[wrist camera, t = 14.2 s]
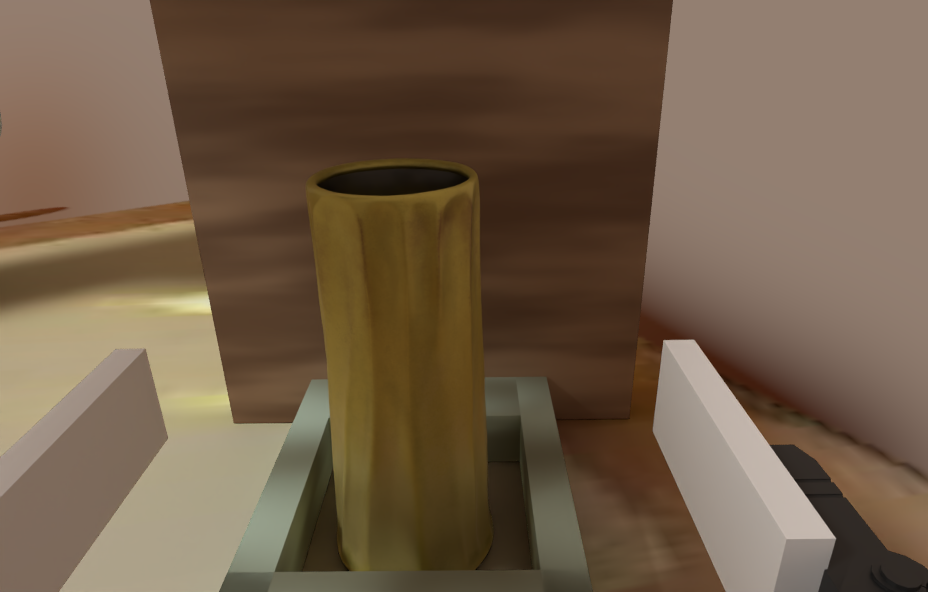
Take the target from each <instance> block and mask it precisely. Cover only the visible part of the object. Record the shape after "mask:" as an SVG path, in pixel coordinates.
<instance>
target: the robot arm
mask: <svg viewBox="0 0 928 592" xmlns="http://www.w3.org/2000/svg"><path fill="white" fill-rule="evenodd" d="M1 129H2V123H1V114H0V135H1ZM653 433H654V435H655V437H656V440H657V442H658V444H659V446H660V448H661V451H662V453H663V455H664V457H665V459H666V462H667V464H668V466H669V468H670V470H671V473H672V475H673V477H674V479H675V481H676V484H677V486H678V488H679V490H680V492H681V495H682V497H683V499H684V501H685V503H686V506H687V508H688V510H689V512H690V514H691V517H692V519H693V521H694V523H695V525H696V528H697V530H698V532H699V534H700V536H701V539H702V541H703V543H704V545H705V547H706V550H707V552H708V554H709V556H710V558H711V561H712V563H713V565H714V567H715V569H716V572H717V574H718V576H719V578H720V580H721V583H722V585H723V587H724V589H725V591H726V592H928V569H927V568H926V567H924V566H923V565H921V564H919V563H917V562H916V561H914V560H912V559H910V558H908V557H906V556H904V555H900V554H897V553H894V552H891V551H888V550H887V549H886V548H885V546H884V545H883V544H882V543H881V541H880V540H879V539H878V538H877V536H876V535H875V534H874V533H873V531H872V530H871V529H870V528H869V526H868V525H867V524H866V523H865V521H864V520H863V519H862V517H861V516H860V515H859V514H858V512H857V511H856V510H855V509H854V507H853V506H852V505H851V504H850V502H849V501H848V500H847V499H846V498H843V494H842V492H841V491H840V490H839V489H838V487H837V486H836V485H835V484H834V482H831V479H830V477H829V476H828V475H827V473H826V472H825V471H824V470H823V468H822V467H821V466H820V465H819V463H818V462H817V461H816V460H815V459H813V458H812V457H810V456H809V455H808V454H806V453H805V452H803V451H802V450H800V449H799V448H798V447H796V446H795V445H769V444H768V443H767V441H766V440H765V438H764V437H763V436H762V434H761V433H760V431H759V430H758V429H757V427H756V426H755V424H754V423H753V422H752V420H751V419H750V417H749V416H748V415H747V413H746V412H745V410H744V409H743V408H742V406H741V405H740V403H739V402H738V401H737V399H736V398H735V396H734V395H733V394H732V392H731V391H730V389H729V388H728V387H727V385H726V384H725V382H724V381H723V380H722V378H721V377H720V375H719V374H718V373H717V371H716V370H715V368H714V367H713V366H712V364H711V363H710V361H709V360H708V359H707V357H706V356H705V354H704V353H703V352H702V350H701V349H700V347H699V346H698V345H697V343H696V342H695V340H664V342H663V349H662V357H661V365H660V374H659V382H658V390H657V398H656V407H655V415H654V423H653ZM167 439H168V436H167V432H166V428H165V424H164V420H163V416H162V412H161V408H160V404H159V400H158V396H157V392H156V388H155V384H154V381H153V377H152V373H151V369H150V365H149V361H148V357H147V353H146V349H115V350H114V351H113V352H112V353H111V354H110V355H109V356H108V357H107V358H105V359H104V360H103V361H102V362H101V363H100V364H99V365H98V366H97V367H96V368H95V369H94V370H93V371H92V372H91V373H90V374H88V375H87V376H86V377H85V378H84V379H83V380H82V381H81V382H80V383H79V384H78V385H77V386H76V387H75V388H74V389H72V390H71V391H70V392H69V393H68V394H67V395H66V396H65V397H64V398H63V399H62V400H61V401H60V402H59V403H58V404H57V405H55V406H54V407H53V408H52V409H51V410H50V411H49V412H48V413H47V414H46V415H45V416H44V417H43V418H42V419H41V420H39V421H38V422H37V423H36V424H35V425H34V426H33V427H32V428H31V429H30V430H29V431H28V432H27V433H26V434H25V435H24V436H22V437H21V438H20V439H19V440H18V441H17V442H16V443H15V444H14V445H13V446H12V447H11V448H10V449H9V450H8V451H6V452H5V453H4V454H3V455H2V456H1V457H0V592H59V591H60V589H61V588H62V586H63V585H64V584H65V582H66V581H67V579H68V578H69V577H70V575H71V574H72V572H73V571H74V570H75V568H76V567H77V565H78V564H79V563H80V561H81V560H82V558H83V557H84V555H85V554H86V553H87V551H88V550H89V548H90V547H91V546H92V544H93V543H94V541H95V540H96V539H97V537H98V536H99V534H100V533H101V532H102V530H103V529H104V527H105V526H106V525H107V523H108V522H109V520H110V519H111V518H112V516H113V515H114V513H115V512H116V511H117V509H118V508H119V506H120V505H121V504H122V502H123V501H124V499H125V498H126V497H127V495H128V494H129V492H130V491H131V489H132V488H133V487H134V485H135V484H136V482H137V481H138V480H139V478H140V477H141V475H142V474H143V473H144V471H145V470H146V468H147V467H148V466H149V464H150V463H151V461H152V460H153V459H154V457H155V456H156V454H157V453H158V452H159V450H160V449H161V447H162V446H163V445H164V443H165V442H166V440H167Z"/></svg>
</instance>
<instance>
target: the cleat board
mask: <svg viewBox="0 0 928 592" xmlns="http://www.w3.org/2000/svg"><path fill="white" fill-rule="evenodd" d="M150 4H151V9H152V14H153V19H154V24H155V29H156V34H157V39H158V44H159V49H160V54H161V59H162V64H163V69H164V74H165V79H166V84H167V89H168V95H169V100H170V105H171V109H172V115H173V119H174V124H175V129H176V135H177V139H178V144H179V150H180V155H181V160H182V164H183V170H184V175H185V180H186V185H187V189H188V195H189V200H190V205H191V210H192V215H193V220H194V225H195V230H196V235H197V240H198V245H199V250H200V255H201V260H202V265H203V270H204V275H205V280H206V285H207V290H208V295H209V300H210V305H211V311H212V316H213V321H214V326H215V331H216V336H217V341H218V346H219V351H220V356H221V361H222V366H223V371H224V376H225V381H226V386H227V391H228V396H229V401H230V406H231V411H232V416H233V421H234V423H280V422H293V423H292V426H291V428H290V430H289V433H288V435H287V437H286V439H285V442H284V444H283V446H282V449H281V451H280V453H279V456H278V458H277V460H276V462H275V465H274V467H273V469H272V472H271V474H270V476H269V479H268V481H267V483H266V485H265V488H264V490H263V492H262V495H261V497H260V499H259V501H258V504H257V506H256V508H255V511H254V513H253V515H252V518H251V520H250V522H249V524H248V527H247V529H246V531H245V534H244V536H243V538H242V540H241V543H240V545H239V547H238V550H237V552H236V554H235V557H234V559H233V561H232V563H231V566H230V568H229V570H228V573H227V575H226V577H225V580H224V582H223V584H222V586H221V589H220V591H219V592H593V590H592V585H591V580H590V576H589V571H588V567H587V562H586V557H585V553H584V548H583V543H582V539H581V534H580V530H579V525H578V520H577V516H576V511H575V507H574V502H573V497H572V493H571V488H570V483H569V479H568V474H567V470H566V465H565V460H564V456H563V451H562V447H561V442H560V437H559V433H558V428H557V423H556V419H629V416H630V407H631V397H632V388H633V378H634V368H635V359H636V349H637V340H638V330H639V320H640V310H641V301H642V291H643V282H644V273H645V263H646V252H647V244H648V233H649V225H650V215H651V205H652V195H653V186H654V176H655V167H656V157H657V148H658V137H659V129H660V128H659V127H660V119H661V109H662V100H663V90H664V80H665V71H666V62H667V52H668V42H669V33H670V23H671V14H672V4H673V0H150ZM396 158H414V159H432V160H442V161H450V162H455V163H459V164H463V165H466V166H468V167H470V168H472V169H473V170H474V171H475V172H476V173H477V176H478V180H479V193H480V268H481V305H482V329H483V350H484V374H485V403H486V428H487V451H488V462H499V461H520V469H521V477H522V486H523V495H524V503H525V512H526V521H527V530H528V538H529V547H530V556H531V564H532V570H458V571H334V572H302V568H303V565H304V562H305V558H306V555H307V552H308V549H309V545H310V542H311V539H312V535H313V532H314V529H315V525H316V522H317V519H318V515H319V512H320V509H321V506H322V502H323V499H324V496H325V492H326V489H327V486H328V482H329V479H330V476H331V473H332V469H333V459H332V441H331V422H330V410H329V394H328V375H327V358H326V351H325V342H324V333H323V325H322V319H321V311H320V303H319V295H318V285H317V275H316V267H315V259H314V251H313V244H312V236H311V229H310V221H309V214H308V206H307V198H306V182H307V180H308V179H309V178H310V177H311V176H312V175H313V174H315V173H317V172H319V171H321V170H323V169H326V168H329V167H333V166H337V165H342V164H346V163H352V162H359V161H368V160H379V159H396Z"/></svg>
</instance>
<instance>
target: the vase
mask: <svg viewBox="0 0 928 592" xmlns="http://www.w3.org/2000/svg"><path fill="white" fill-rule="evenodd" d="M306 198H307V206H308V214H309V221H310V229H311V236H312V244H313V251H314V259H315V267H316V275H317V285H318V295H319V303H320V311H321V319H322V325H323V333H324V342H325V351H326V358H327V375H328V394H329V410H330V422H331V441H332V459H333V470H334V482H335V495H336V509H337V545H338V551H339V555H340V558H341V560H342V562H343V563H344V564H345V566H346V567H347V569H348V570H349V571H458V570H475V569H476V568H477V567H478V566H479V565H480V563H481V562H482V561H483V560H484V558H485V557H486V555H487V553H488V551H489V549H490V547H491V544H492V540H493V532H494V529H493V521H492V515H491V512H490V508H489V504H488V490H487V486H488V451H487V428H486V403H485V374H484V350H483V329H482V305H481V268H480V193H479V180H478V176H477V173H476V172H475V171H474V170H473V169H472V168H470V167H468V166H466V165H463V164H459V163H455V162H450V161H442V160H432V159H414V158H396V159H379V160H368V161H359V162H352V163H346V164H342V165H337V166H333V167H329V168H326V169H323V170H321V171H319V172H317V173H315V174H313V175H312V176H311V177H310V178H309V179H308V180H307V182H306Z"/></svg>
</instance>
